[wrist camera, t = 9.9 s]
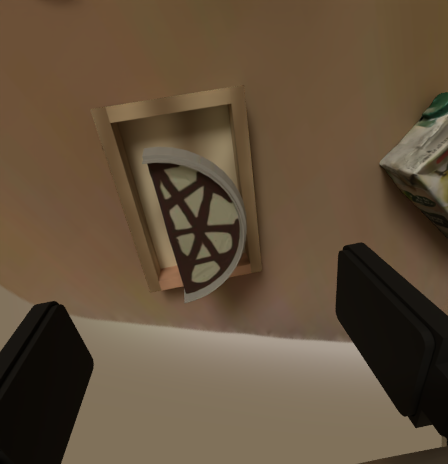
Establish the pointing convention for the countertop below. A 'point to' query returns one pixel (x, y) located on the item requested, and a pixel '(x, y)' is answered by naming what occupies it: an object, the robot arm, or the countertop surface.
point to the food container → (198, 217)
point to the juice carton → (424, 163)
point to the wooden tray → (186, 138)
